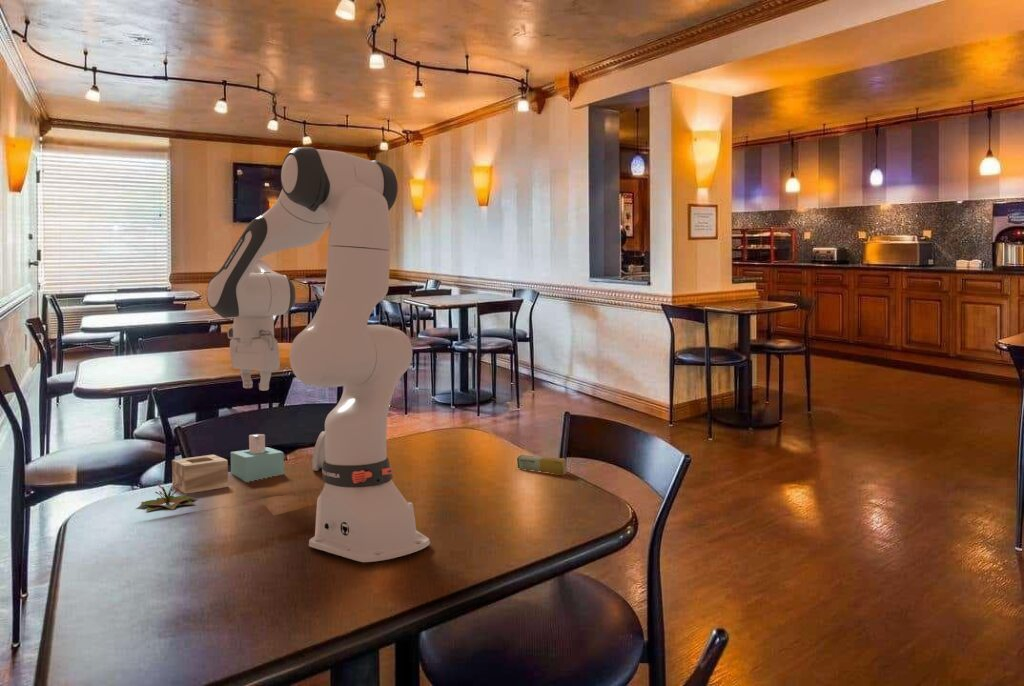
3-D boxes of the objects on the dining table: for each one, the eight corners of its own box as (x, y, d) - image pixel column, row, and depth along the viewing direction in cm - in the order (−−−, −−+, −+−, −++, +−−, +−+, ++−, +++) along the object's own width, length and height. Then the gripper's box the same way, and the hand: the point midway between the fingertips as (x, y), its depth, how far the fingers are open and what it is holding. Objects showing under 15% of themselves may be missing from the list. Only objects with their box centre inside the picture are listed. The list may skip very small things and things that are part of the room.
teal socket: (283, 477, 164) (283, 452, 164) (245, 483, 158) (245, 457, 157) (268, 471, 170) (267, 447, 170) (231, 477, 164) (230, 452, 164)
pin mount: (228, 486, 155) (227, 460, 155) (185, 493, 149) (185, 466, 149) (213, 479, 162) (213, 454, 161) (172, 486, 156) (171, 460, 155)
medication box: (517, 473, 167) (516, 457, 166) (522, 470, 169) (521, 454, 169) (563, 477, 161) (561, 460, 161) (567, 474, 164) (566, 457, 163)
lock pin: (267, 473, 164) (267, 435, 164) (253, 475, 161) (252, 437, 161) (261, 470, 166) (261, 433, 166) (247, 472, 164) (246, 435, 164)
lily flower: (138, 518, 132) (137, 494, 132) (131, 504, 142) (130, 482, 142) (205, 508, 139) (205, 485, 139) (194, 495, 149) (193, 474, 149)
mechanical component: (321, 466, 174) (326, 427, 174) (338, 469, 174) (344, 430, 174) (308, 475, 164) (314, 434, 164) (326, 478, 164) (333, 437, 164)
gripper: (286, 330, 157) (287, 390, 158) (250, 330, 172) (252, 385, 173) (258, 330, 153) (260, 393, 153) (224, 331, 168) (226, 387, 169)
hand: (255, 389), depth 163 cm, fingers open, 8 cm apart
